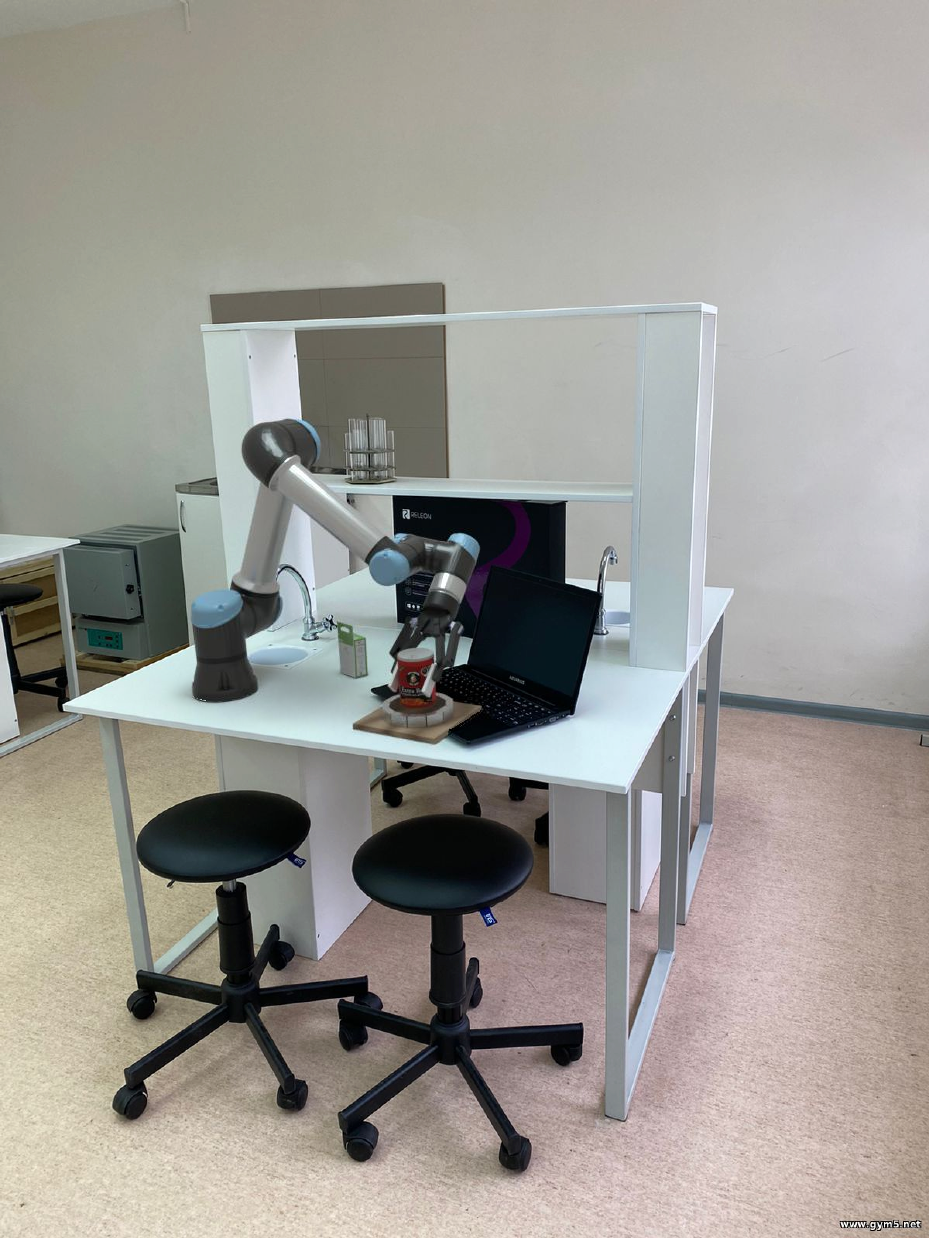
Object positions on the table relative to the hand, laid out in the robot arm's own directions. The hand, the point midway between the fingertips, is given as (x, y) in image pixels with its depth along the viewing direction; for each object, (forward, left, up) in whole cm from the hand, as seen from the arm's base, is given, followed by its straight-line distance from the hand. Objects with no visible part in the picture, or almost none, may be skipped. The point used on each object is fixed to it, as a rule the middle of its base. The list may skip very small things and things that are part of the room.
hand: (408, 691), depth 198 cm
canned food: (0, +3, -4) cm, 5 cm away
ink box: (-31, +23, -8) cm, 40 cm away
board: (0, +3, -8) cm, 8 cm away
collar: (0, +3, -6) cm, 7 cm away
